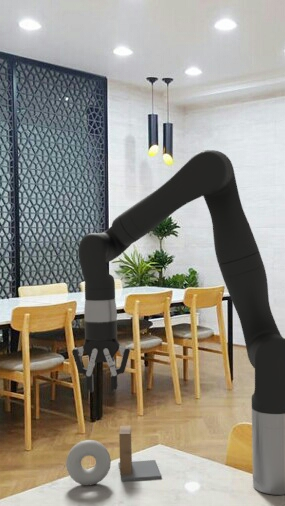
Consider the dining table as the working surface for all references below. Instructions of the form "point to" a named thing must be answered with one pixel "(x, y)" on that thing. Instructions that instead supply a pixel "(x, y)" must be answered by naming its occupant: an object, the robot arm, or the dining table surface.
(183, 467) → the dining table surface
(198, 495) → the dining table surface
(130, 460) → the walnut slab
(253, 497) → the dining table surface
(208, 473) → the dining table surface
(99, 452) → the donut
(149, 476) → the rubber mat
